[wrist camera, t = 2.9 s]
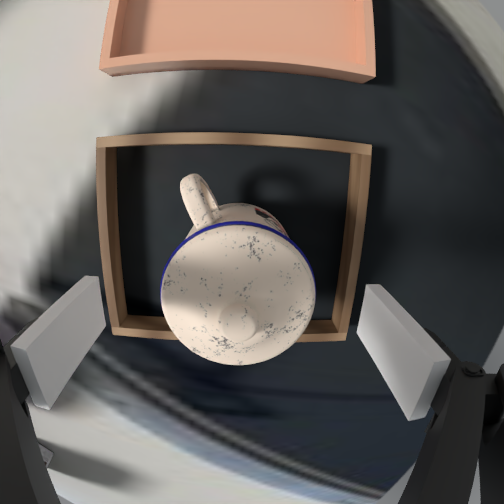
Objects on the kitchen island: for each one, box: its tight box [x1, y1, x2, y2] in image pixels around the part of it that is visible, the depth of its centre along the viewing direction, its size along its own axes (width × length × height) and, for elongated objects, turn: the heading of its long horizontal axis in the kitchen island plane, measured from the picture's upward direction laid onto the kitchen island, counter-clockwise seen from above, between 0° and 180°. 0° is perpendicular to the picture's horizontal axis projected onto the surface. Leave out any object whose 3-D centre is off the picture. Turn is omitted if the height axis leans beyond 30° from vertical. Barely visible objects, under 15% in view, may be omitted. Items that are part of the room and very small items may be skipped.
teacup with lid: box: [160, 174, 316, 365], centre depth 20 cm, size 12×9×12 cm
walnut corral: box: [96, 132, 372, 342], centre depth 24 cm, size 21×17×2 cm
